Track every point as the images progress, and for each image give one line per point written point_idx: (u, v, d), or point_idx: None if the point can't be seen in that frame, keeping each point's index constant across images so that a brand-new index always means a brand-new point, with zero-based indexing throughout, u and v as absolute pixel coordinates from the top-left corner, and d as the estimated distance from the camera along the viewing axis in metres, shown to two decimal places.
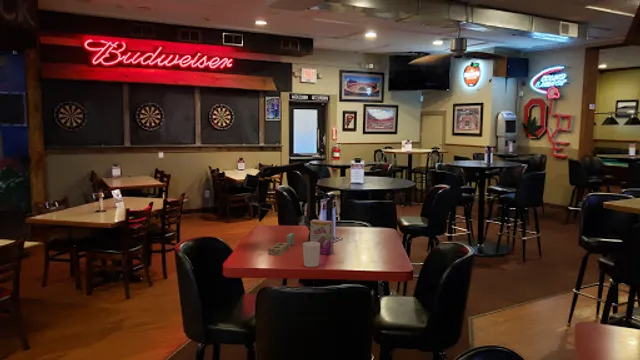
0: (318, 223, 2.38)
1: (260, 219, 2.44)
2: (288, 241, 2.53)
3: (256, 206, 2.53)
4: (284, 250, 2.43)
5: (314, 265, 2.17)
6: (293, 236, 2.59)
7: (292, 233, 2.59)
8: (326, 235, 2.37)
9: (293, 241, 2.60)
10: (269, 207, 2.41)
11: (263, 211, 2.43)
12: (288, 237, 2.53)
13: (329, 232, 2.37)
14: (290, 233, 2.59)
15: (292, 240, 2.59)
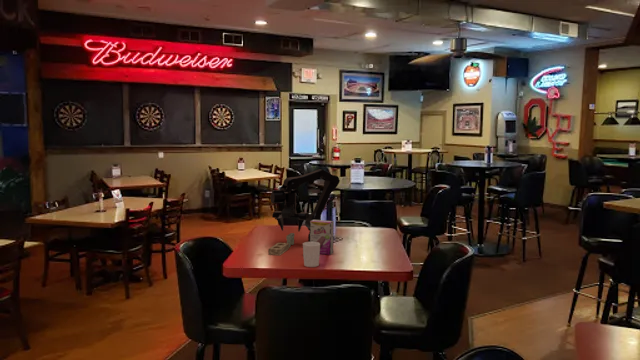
0: (318, 223, 2.38)
1: (299, 229, 2.55)
2: (288, 241, 2.53)
3: (281, 218, 2.58)
4: (284, 250, 2.43)
5: (314, 265, 2.17)
6: (293, 236, 2.59)
7: (292, 233, 2.59)
8: (326, 235, 2.37)
9: (293, 241, 2.60)
10: (308, 215, 2.55)
11: None
12: (288, 237, 2.53)
13: (329, 232, 2.37)
14: (290, 233, 2.59)
15: (292, 240, 2.59)
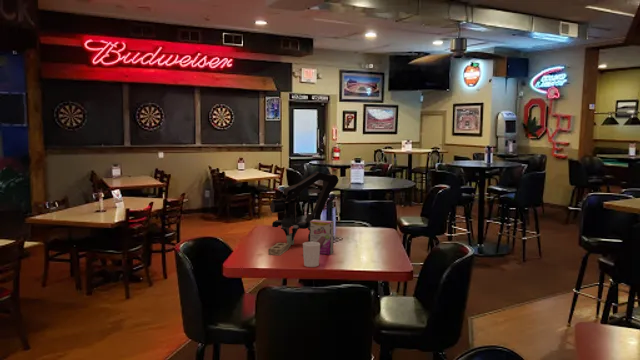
0: (318, 223, 2.38)
1: (293, 238, 2.56)
2: (288, 241, 2.53)
3: (287, 228, 2.57)
4: (284, 250, 2.43)
5: (314, 265, 2.17)
6: None
7: None
8: (326, 235, 2.37)
9: (293, 241, 2.60)
10: (308, 225, 2.55)
11: None
12: (288, 237, 2.53)
13: (329, 232, 2.37)
14: (290, 233, 2.59)
15: None
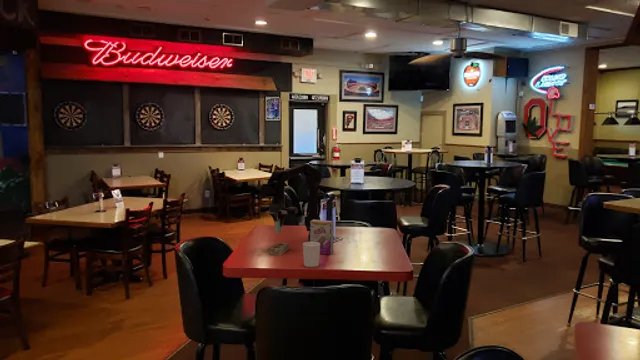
0: (318, 223, 2.38)
1: (281, 224, 2.43)
2: (276, 227, 2.40)
3: (276, 213, 2.44)
4: (284, 250, 2.43)
5: (314, 265, 2.17)
6: None
7: None
8: (326, 235, 2.37)
9: (282, 228, 2.46)
10: (297, 211, 2.42)
11: (283, 216, 2.42)
12: (276, 223, 2.39)
13: (329, 232, 2.37)
14: (279, 219, 2.46)
15: None
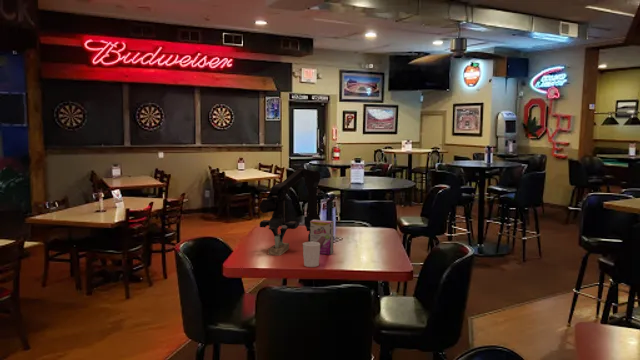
0: (318, 223, 2.38)
1: (282, 239, 2.43)
2: (276, 242, 2.40)
3: (276, 228, 2.44)
4: (284, 250, 2.43)
5: (314, 265, 2.17)
6: None
7: None
8: (326, 235, 2.37)
9: (282, 242, 2.46)
10: (297, 225, 2.42)
11: (283, 230, 2.43)
12: (276, 238, 2.40)
13: (329, 232, 2.37)
14: (279, 233, 2.46)
15: (281, 241, 2.46)
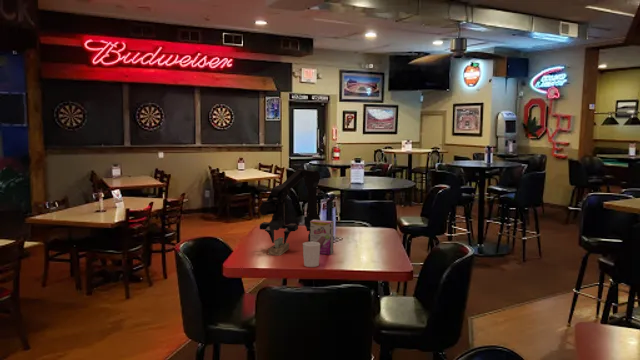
0: (318, 223, 2.38)
1: (285, 241, 2.43)
2: (276, 246, 2.40)
3: (272, 230, 2.45)
4: (284, 250, 2.43)
5: (314, 265, 2.17)
6: (282, 241, 2.46)
7: None
8: (326, 235, 2.37)
9: None
10: (297, 227, 2.42)
11: None
12: (276, 242, 2.40)
13: (329, 232, 2.37)
14: (279, 237, 2.46)
15: None
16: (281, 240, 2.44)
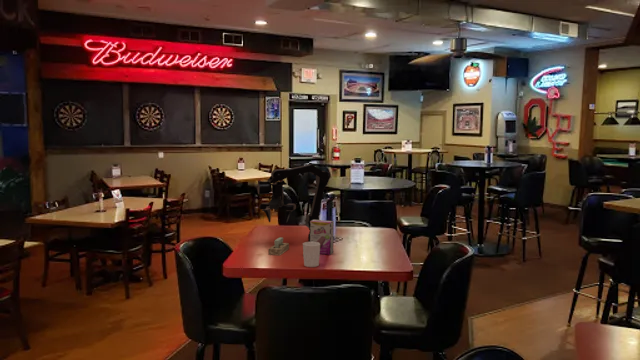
0: (318, 223, 2.38)
1: (287, 220, 2.55)
2: (276, 246, 2.40)
3: (269, 210, 2.58)
4: (284, 250, 2.43)
5: (314, 265, 2.17)
6: (282, 241, 2.46)
7: None
8: (326, 235, 2.37)
9: None
10: (295, 207, 2.55)
11: (288, 212, 2.55)
12: (276, 242, 2.40)
13: (329, 232, 2.37)
14: (279, 237, 2.46)
15: None
16: (281, 240, 2.44)
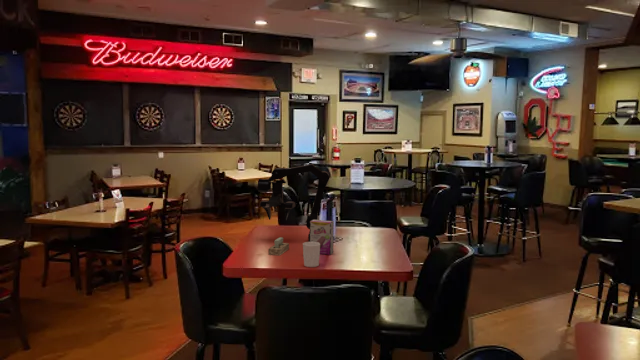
0: (318, 223, 2.38)
1: (286, 218, 2.62)
2: (276, 246, 2.40)
3: (269, 207, 2.64)
4: (284, 250, 2.43)
5: (314, 265, 2.17)
6: (282, 241, 2.46)
7: None
8: (326, 235, 2.37)
9: None
10: (294, 205, 2.61)
11: (287, 210, 2.61)
12: (276, 242, 2.40)
13: (329, 232, 2.37)
14: (279, 237, 2.46)
15: None
16: (281, 240, 2.44)
